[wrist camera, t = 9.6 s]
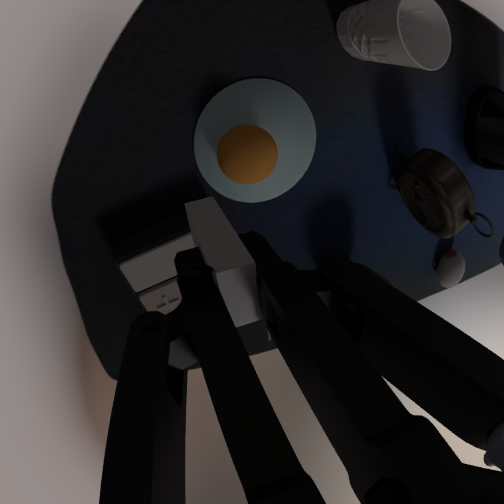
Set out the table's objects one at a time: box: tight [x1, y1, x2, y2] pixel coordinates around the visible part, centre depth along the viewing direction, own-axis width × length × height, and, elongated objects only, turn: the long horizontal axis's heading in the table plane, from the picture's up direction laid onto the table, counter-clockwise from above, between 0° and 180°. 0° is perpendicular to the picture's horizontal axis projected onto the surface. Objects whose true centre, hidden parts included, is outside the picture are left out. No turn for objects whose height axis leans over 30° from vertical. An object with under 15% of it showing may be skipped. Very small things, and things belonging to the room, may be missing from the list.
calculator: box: [114, 211, 195, 315], centre depth 34 cm, size 11×4×15 cm
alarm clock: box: [389, 147, 494, 238], centre depth 32 cm, size 11×5×16 cm, turn 32°
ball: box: [217, 125, 278, 184], centre depth 28 cm, size 6×6×6 cm
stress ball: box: [433, 250, 465, 288], centre depth 51 cm, size 8×8×7 cm
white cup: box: [336, 0, 451, 71], centre depth 23 cm, size 8×8×10 cm
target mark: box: [194, 78, 316, 202], centre depth 30 cm, size 13×13×1 cm
